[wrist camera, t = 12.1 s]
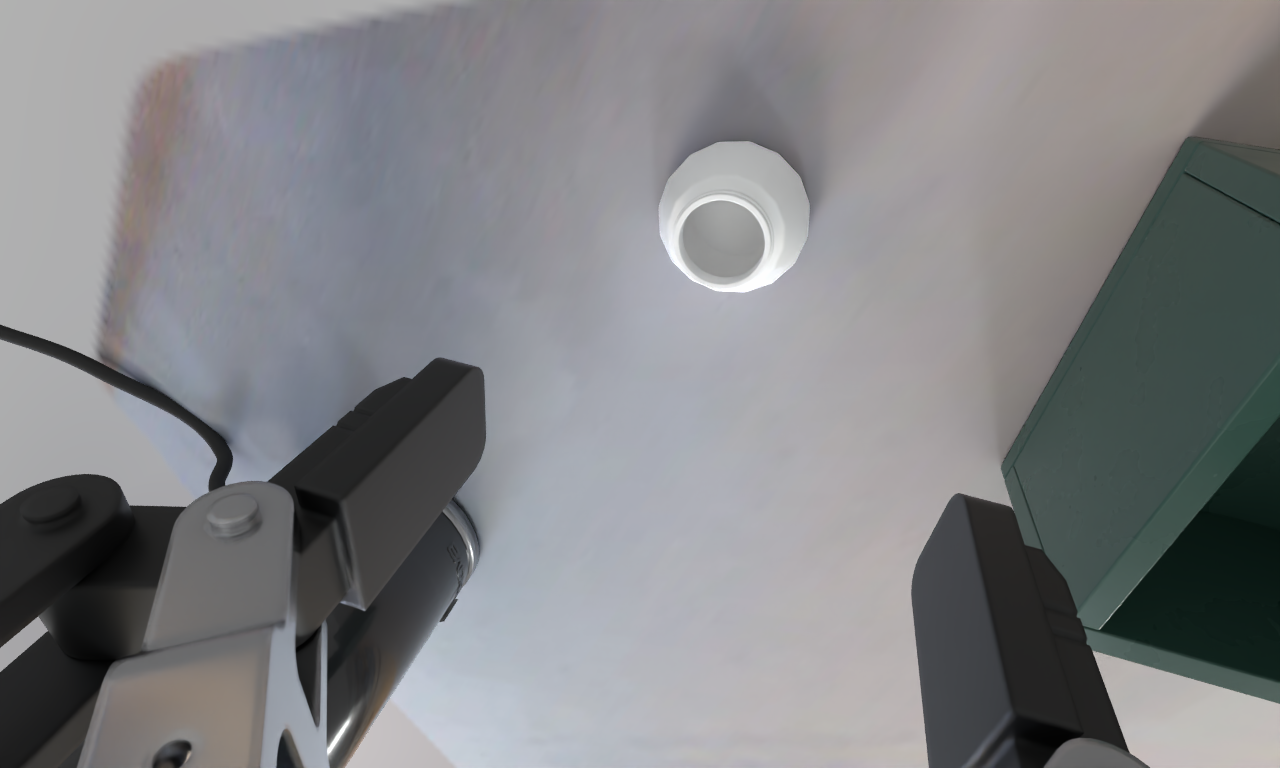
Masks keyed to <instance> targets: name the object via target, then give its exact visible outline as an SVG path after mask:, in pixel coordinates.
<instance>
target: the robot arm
mask: <svg viewBox="0 0 1280 768" xmlns="http://www.w3.org/2000/svg"><path fill="white" fill-rule="evenodd" d="M0 339H1V340H4V341H7V342H10V343H13V344H16V345H20V346H23V347H26V348H29V349H32V350H34V351H38V352H40V353H43V354H46V355H49V356H51V357H54V358H56V359H59V360H61V361H63V362H66V363H68V364H70V365H72V366H75V367H77V368H79V369H81V370H83V371H85V372H87V373H89V374H91V375H93V376H95V377H96V378H98V379H100V380H102V381H104V382H106V383H108V384H110V385H112V386H114V387H116V388H119V389H121V390H123V391H125V392H127V393H129V394H131V395H133V396H136V397H138V398H140V399H142V400H144V401H146V402H148V403H150V404H152V405H155V406H157V407H159V408H160V409H162V410H164V411H166V412H168V413H170V414H172V415H173V416H175V417H177V418H178V419H180V420H181V421H183V422H184V423H186V424H187V425H189V426H190V427H191V428H192V429H194V430H195V431H196V432H197V433H198V434H199V435H200V436H201V437H202V438H203V439H204V440H205V441H206V442H207V444H208V445H209V446H210V447H211V449H212V451H213V453H214V454H215V456H216V458H217V463H216V466H215V468H214V470H213V472H212V474H211V476H210V479H209V492H208V493H207V494H205V495H203V496H201V497H199V498H198V499H196V500H195V501H193V502H192V503H191V504H190V505H189V506H187V507H167V506H129V504H128V502H127V500H126V498H125V496H124V494H123V492H122V490H121V487H120V486H119V485H118V484H117V482H115V481H114V480H112V479H111V478H108V477H105V476H100V475H91V474H81V475H71V476H65V477H60V478H56V479H52V480H49V481H46V482H42V483H40V484H37V485H35V486H32V487H30V488H28V489H26V490H24V491H22V492H19V493H18V494H16V495H14V496H13V497H11V498H10V499H8V500H6V501H5V502H3V503H2V504H0V648H1V647H2V646H3V645H4V644H5V643H7V642H8V641H9V640H10V639H11V638H13V637H14V636H15V635H16V634H17V633H19V632H20V631H21V630H22V629H23V628H25V627H26V626H27V625H28V624H29V623H31V622H32V621H33V620H34V619H35V618H37V617H38V616H39V618H40V619H41V621H42V622H43V624H44V625H45V626H46V628H47V630H48V632H46V633H45V634H44V635H43V636H42V637H40V638H39V639H38V640H37V641H36V642H35V643H34V644H32V645H31V646H30V647H29V648H28V649H27V650H25V652H23V653H22V654H21V655H20V656H18V657H17V658H16V659H15V660H14V661H13V662H12V663H10V664H9V665H8V666H7V667H6V668H5V669H3V670H2V671H1V672H0V768H345V766H346V765H347V764H348V762H349V761H350V759H351V757H352V756H353V754H354V753H355V751H356V750H357V748H358V747H359V745H360V743H361V742H362V740H363V739H364V737H365V736H366V734H367V733H368V731H369V730H370V728H371V726H372V725H373V723H374V721H375V720H376V719H377V717H378V716H379V714H380V713H381V711H382V709H383V708H384V706H385V705H386V703H387V702H388V700H389V699H390V697H391V695H392V694H393V692H394V691H395V689H396V688H397V686H398V685H399V683H400V682H401V680H402V678H403V677H404V675H405V674H406V672H407V671H408V669H409V668H410V666H411V665H412V663H413V661H414V660H415V658H416V657H417V655H418V654H419V652H420V651H421V649H422V647H423V646H424V644H425V643H426V641H427V640H428V638H429V637H430V635H431V634H432V632H433V630H434V629H435V627H436V626H437V624H438V623H439V622H442V621H445V619H446V617H447V616H448V614H449V613H450V611H451V610H452V608H453V606H454V605H455V603H456V602H457V600H458V599H455V598H456V596H457V595H458V593H459V592H460V590H461V588H462V587H463V586H464V585H465V584H466V582H467V581H468V579H469V578H470V576H471V575H472V573H473V572H474V570H475V568H476V566H477V563H478V560H479V544H478V540H477V537H476V534H475V531H474V529H473V527H472V525H471V523H470V521H469V520H468V518H467V517H466V515H465V514H464V512H463V511H462V510H461V509H460V507H459V506H458V505H457V504H456V503H455V502H454V501H453V500H452V498H453V497H454V496H455V494H456V493H457V492H458V490H459V489H460V488H461V487H462V485H463V484H464V483H465V481H466V480H467V479H468V477H469V476H470V475H471V474H472V472H473V471H474V470H475V468H476V467H477V465H478V463H479V461H480V459H481V456H482V453H483V450H484V446H485V441H486V422H485V391H484V375H483V372H482V370H481V369H480V368H479V367H475V366H472V365H468V364H464V363H460V362H456V361H452V360H448V359H445V358H436V359H434V360H433V361H432V362H430V363H429V364H428V365H427V366H426V367H425V368H424V369H423V370H422V371H420V372H419V373H418V374H417V375H416V376H415V377H414V378H413V379H409V378H405V377H403V378H401V379H398V380H396V381H394V382H391V383H389V384H387V385H385V386H382V387H380V388H378V389H376V390H374V391H373V392H372V393H371V394H370V395H368V396H367V397H366V398H365V399H364V400H363V401H361V402H360V403H359V404H358V405H357V406H356V407H355V409H354V411H350V412H349V413H347V414H346V415H345V416H344V417H343V418H342V419H340V420H339V421H338V424H337V426H332V427H331V428H330V429H329V430H327V431H326V432H325V433H324V434H323V435H322V436H320V437H319V438H318V439H317V440H316V441H315V442H313V443H312V444H311V445H310V446H309V447H308V448H306V449H305V450H304V451H303V452H302V453H301V454H299V455H298V456H297V457H296V458H295V459H294V460H292V461H291V462H290V463H289V464H288V465H286V466H285V467H284V468H283V469H282V470H281V471H279V472H278V473H277V474H276V475H275V476H274V477H272V478H271V479H270V480H269V481H268V482H263V481H247V482H239V483H234V484H230V485H226V486H225V481H226V478H227V476H228V474H229V472H230V470H231V467H232V463H233V456H232V452H231V450H230V448H229V447H228V445H227V443H226V442H225V440H224V439H223V438H222V437H221V436H220V435H219V434H218V433H217V432H216V431H214V430H213V429H212V428H210V427H209V426H208V425H206V424H205V423H204V422H202V421H201V420H200V419H198V418H197V417H195V416H194V415H193V414H191V413H190V412H189V411H187V410H186V409H184V408H183V407H182V406H180V405H179V404H177V403H176V402H175V401H173V400H172V399H170V398H169V397H167V396H165V395H164V394H162V393H160V392H158V391H156V390H155V389H153V388H150V387H148V386H146V385H144V384H142V383H140V382H138V381H136V380H134V379H131V378H129V377H127V376H125V375H123V374H121V373H119V372H117V371H115V370H113V369H111V368H109V367H107V366H105V365H103V364H101V363H100V362H98V361H96V360H94V359H92V358H89V357H87V356H85V355H83V354H81V353H79V352H76V351H74V350H71V349H69V348H67V347H64V346H62V345H59V344H56V343H54V342H51V341H48V340H45V339H42V338H39V337H36V336H33V335H29V334H26V333H24V332H20V331H17V330H14V329H11V328H8V327H5V326H2V325H0ZM911 596H912V607H913V616H914V626H915V636H916V646H917V655H918V665H919V675H920V685H921V694H922V704H923V714H924V723H925V733H926V743H927V753H928V762H929V768H1150V767H1149V766H1147V765H1146V764H1145V763H1143V762H1142V761H1141V760H1139V759H1138V758H1136V757H1135V756H1133V755H1132V754H1130V752H1129V750H1128V748H1127V745H1126V742H1125V739H1124V737H1123V734H1122V731H1121V729H1120V726H1119V723H1118V720H1117V718H1116V715H1115V712H1114V709H1113V707H1112V704H1111V701H1110V698H1109V696H1108V693H1107V690H1106V688H1105V685H1104V682H1103V679H1102V677H1101V674H1100V671H1099V668H1098V666H1097V663H1096V660H1095V657H1094V655H1093V652H1092V649H1091V647H1090V645H1087V643H1086V642H1087V639H1088V638H1087V636H1086V633H1085V630H1084V627H1083V625H1082V622H1081V619H1080V618H1077V613H1078V611H1077V608H1076V606H1075V603H1074V600H1073V597H1072V595H1071V592H1070V589H1069V586H1068V584H1067V581H1066V579H1065V578H1064V577H1063V576H1062V574H1061V573H1060V572H1059V571H1058V569H1057V568H1056V567H1055V566H1054V564H1053V563H1052V562H1051V561H1050V559H1049V558H1048V557H1047V556H1046V554H1045V553H1044V552H1043V551H1042V549H1038V548H1035V547H1031V546H1027V545H1025V544H1024V540H1023V537H1022V534H1021V531H1020V528H1019V525H1018V521H1017V518H1016V515H1015V513H1014V511H1013V509H1012V508H1011V507H1009V506H1006V505H1002V504H998V503H995V502H991V501H987V500H983V499H979V498H975V497H971V496H968V495H964V494H960V493H958V494H955V495H954V496H953V497H952V498H951V499H950V501H949V503H948V504H947V506H946V508H945V510H944V512H943V514H942V515H941V517H940V519H939V521H938V523H937V525H936V527H935V528H934V530H933V532H932V534H931V536H930V538H929V540H928V542H927V543H926V545H925V547H924V549H923V551H922V553H921V555H920V557H919V559H918V561H917V564H916V567H915V570H914V574H913V580H912V589H911Z"/></svg>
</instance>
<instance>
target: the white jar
mask: <svg viewBox="0 0 1280 768" xmlns="http://www.w3.org/2000/svg"><path fill="white" fill-rule="evenodd" d="M658 208H659V227H660V236H661V239H662V241H663V243H664V245H665V247H666V250H667V252H668V254H669V256H670V258H671V260H672V262H674V263H675V264H676V265H677V266H678V267H679V268H680V269H681V270H682V271H683V272H684V273H685V274H686V275H687V276H688V277H689V278H690V279H691V280H693V281H695V282H697V283H700V284H702V285H704V286H707V287H709V288H711V289H713V290H716V291H727V292H747V291H750V290H753V289H756V288H759V287H762V286H765V285H768V284H771V283H773V282H774V281H775V280H776V279H778V278H779V277H780V276H781V275H782V274H784V273H785V272H786V271H787V270H788V269H789V268H791V267H792V266H793V265H794V264H795V262H796V260H797V258H798V256H799V254H800V252H801V250H802V248H803V246H804V244H805V242H806V240H807V238H808V229H809V215H810V203H809V200H808V197H807V195H806V192H805V189H804V186H803V183H802V180H801V178H800V176H799V175H798V173H797V172H796V171H795V170H794V169H793V168H792V167H791V166H790V165H789V164H788V163H787V162H786V161H785V160H784V159H783V158H782V157H781V155H780V154H779V153H776V152H774V151H772V150H769V149H767V148H764V147H762V146H760V145H757V144H755V143H753V142H750V141H736V142H717V143H715V144H712V145H710V146H708V147H706V148H704V149H702V150H699V151H697V152H695V153H693V154H691V155H690V156H689V157H688V158H687V159H686V160H685V161H684V162H683V163H682V164H681V165H680V167H679V168H678V169H677V170H676V171H675V172H674V173H673V174H672V175H671V177H670V178H669V179H668V181H667V184H666V187H665V189H664V192H663V195H662V198H661V201H660V204H659V206H658Z"/></svg>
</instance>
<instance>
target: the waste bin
mask: <svg viewBox="0 0 1280 768" xmlns="http://www.w3.org/2000/svg"><path fill="white" fill-rule="evenodd" d="M1001 470H1002V473H1003V477H1004V479H1005V484H1006V487H1007V491H1008V494H1009V497H1010V500H1011V503H1012V506H1013V509H1014V512H1015V515H1016V518H1017V521H1018V525H1019V528H1020V531H1021V534H1022V537H1023V540H1024V544H1025V545H1027V546H1031V547H1035V548H1038V549H1042V551H1043V552H1044V553H1045V554H1046V556H1047V557H1048V558H1049V559H1050V561H1051V562H1052V563H1053V564H1054V566H1055V567H1056V568H1057V569H1058V571H1059V572H1060V573H1061V574H1062V576H1063V577H1064V578H1065V579H1066V581H1067V584H1068V586H1069V589H1070V592H1071V595H1072V597H1073V600H1074V603H1075V606H1076V608H1077V611H1078V613H1077V618H1080V619H1081V622H1082V625H1083V627H1084V630H1085V633H1086V636H1087V638H1088V639H1087V642H1086V643H1087V645H1090V647H1091V649H1092V650H1093V651H1096V652H1100V653H1103V654H1107V655H1110V656H1114V657H1117V658H1121V659H1124V660H1128V661H1131V662H1135V663H1138V664H1142V665H1145V666H1149V667H1152V668H1156V669H1159V670H1163V671H1167V672H1170V673H1174V674H1177V675H1181V676H1184V677H1188V678H1191V679H1195V680H1198V681H1202V682H1205V683H1209V684H1212V685H1216V686H1219V687H1223V688H1226V689H1230V690H1233V691H1237V692H1240V693H1244V694H1247V695H1251V696H1254V697H1258V698H1261V699H1265V700H1269V701H1272V702H1276V703H1279V704H1280V150H1277V149H1270V148H1264V147H1257V146H1251V145H1244V144H1238V143H1232V142H1225V141H1219V140H1212V139H1206V138H1199V137H1193V136H1192V137H1188V138H1187V139H1186V140H1185V142H1184V144H1183V146H1182V147H1181V149H1180V151H1179V153H1178V154H1177V156H1176V158H1175V160H1174V161H1173V163H1172V165H1171V167H1170V169H1169V170H1168V172H1167V174H1166V176H1165V177H1164V179H1163V181H1162V183H1161V184H1160V186H1159V188H1158V190H1157V192H1156V193H1155V195H1154V197H1153V199H1152V200H1151V202H1150V204H1149V206H1148V207H1147V209H1146V211H1145V213H1144V215H1143V216H1142V218H1141V220H1140V222H1139V223H1138V225H1137V227H1136V229H1135V230H1134V232H1133V234H1132V236H1131V238H1130V239H1129V241H1128V243H1127V245H1126V246H1125V248H1124V250H1123V252H1122V253H1121V255H1120V257H1119V259H1118V261H1117V262H1116V264H1115V266H1114V268H1113V269H1112V271H1111V273H1110V275H1109V276H1108V278H1107V280H1106V282H1105V284H1104V285H1103V287H1102V289H1101V291H1100V292H1099V294H1098V296H1097V298H1096V299H1095V301H1094V303H1093V305H1092V307H1091V308H1090V310H1089V312H1088V314H1087V315H1086V317H1085V319H1084V321H1083V322H1082V324H1081V326H1080V328H1079V330H1078V331H1077V333H1076V335H1075V337H1074V338H1073V340H1072V342H1071V344H1070V345H1069V347H1068V349H1067V351H1066V353H1065V354H1064V356H1063V358H1062V360H1061V361H1060V363H1059V365H1058V367H1057V368H1056V370H1055V372H1054V374H1053V375H1052V377H1051V379H1050V381H1049V383H1048V384H1047V386H1046V388H1045V390H1044V391H1043V393H1042V395H1041V397H1040V398H1039V400H1038V402H1037V404H1036V406H1035V407H1034V409H1033V411H1032V413H1031V414H1030V416H1029V418H1028V420H1027V421H1026V423H1025V425H1024V427H1023V429H1022V430H1021V432H1020V434H1019V436H1018V437H1017V439H1016V441H1015V443H1014V444H1013V446H1012V448H1011V450H1010V452H1009V453H1008V455H1007V457H1006V459H1005V460H1004V462H1003V464H1002V466H1001Z"/></svg>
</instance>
